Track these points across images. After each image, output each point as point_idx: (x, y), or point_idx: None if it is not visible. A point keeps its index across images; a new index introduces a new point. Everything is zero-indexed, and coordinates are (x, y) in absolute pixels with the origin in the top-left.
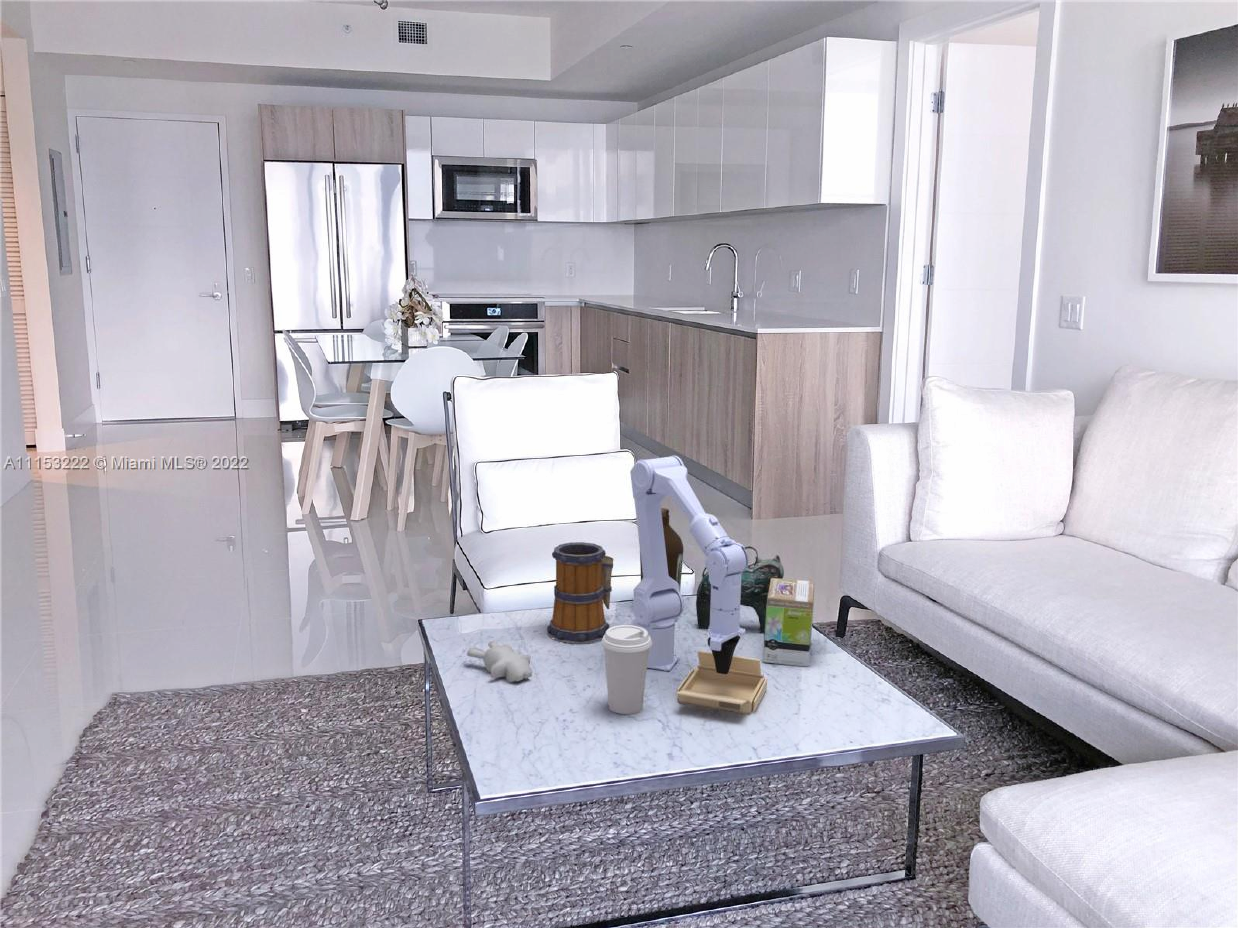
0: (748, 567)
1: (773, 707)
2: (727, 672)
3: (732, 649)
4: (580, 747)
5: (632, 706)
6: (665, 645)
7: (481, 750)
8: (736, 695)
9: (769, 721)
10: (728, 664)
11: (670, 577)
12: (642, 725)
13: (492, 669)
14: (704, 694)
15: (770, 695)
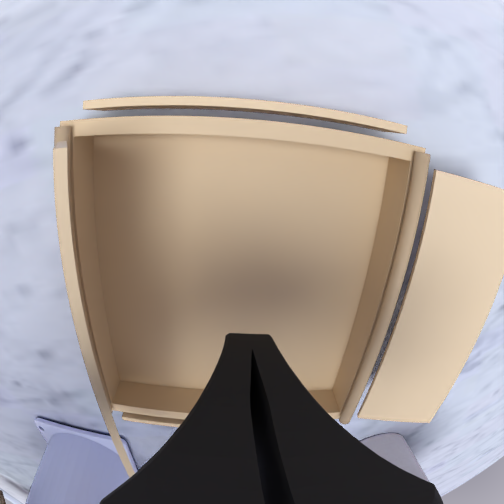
0: None
1: (298, 43)
2: (272, 339)
3: (418, 479)
4: (495, 425)
5: (410, 449)
6: (97, 497)
7: (470, 475)
8: (238, 226)
9: (431, 69)
10: (297, 378)
11: None
12: (454, 402)
13: None
14: (406, 354)
15: (162, 72)
